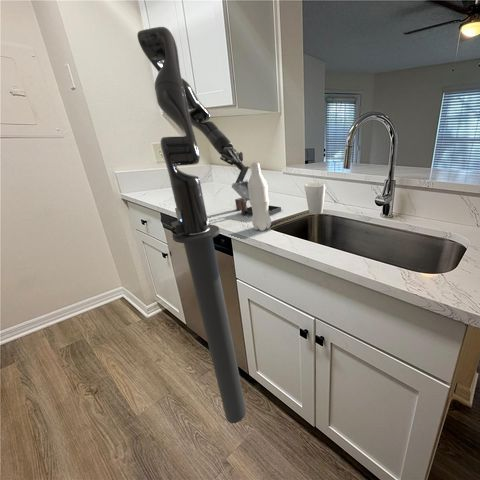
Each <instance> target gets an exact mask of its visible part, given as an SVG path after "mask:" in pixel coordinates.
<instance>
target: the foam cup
mask: <svg viewBox="0 0 480 480" xmlns="http://www.w3.org/2000/svg"><path fill="white" fill-rule="evenodd" d="M304 192H305V197H306V198H305V199H306V203H307V209H308V213H309V215H315V216H316V215H322V214H323V212H324V203H325V202H324V201H325V192H326V183H323V182H309V183H308V182H307V183H305V184H304Z"/></svg>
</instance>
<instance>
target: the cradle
mask: <svg viewBox="0 0 480 480" xmlns="http://www.w3.org/2000/svg"><path fill="white" fill-rule="evenodd" d="M234 202H235V208H236V209H235V210H236V211H239V212H240V211H241V210H242V211H241V214H242V213H243V214H242V216H247V215H246V208H248V205H247V203H245V200H244V199H243V198H242V197H239V198H235V199H234Z"/></svg>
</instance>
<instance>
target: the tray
mask: <svg viewBox="0 0 480 480" xmlns="http://www.w3.org/2000/svg"><path fill="white" fill-rule="evenodd" d="M240 211H241V215H243V213H242V210H240ZM268 211H269V216H273V215H275V214H277V213H280V212H282V207H281V206H275V205H269V206H268ZM245 216H251V217H253V211H252V207H251V206H248V207H247V208H246V215H245Z"/></svg>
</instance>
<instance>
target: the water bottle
mask: <svg viewBox="0 0 480 480" xmlns="http://www.w3.org/2000/svg"><path fill="white" fill-rule="evenodd" d="M261 170H262V169H261V166H260V162H250V171H251V174H250V176H249V179H248V190H249V198H250V200H249V205H250V207H252V211H253V216H252V221H251V224H252V226H253V228H254V230H256V231H261V232H262V231H263V232H264V231H265V230H266V229H267V230H269V229H270V228H271V225H272V219H271V217H270V216H271V215H270V216H269V211H268V206H270V198H269V191H268V183H267V180H266V179H265V178H264V176H263V174H262V172H261Z"/></svg>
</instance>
